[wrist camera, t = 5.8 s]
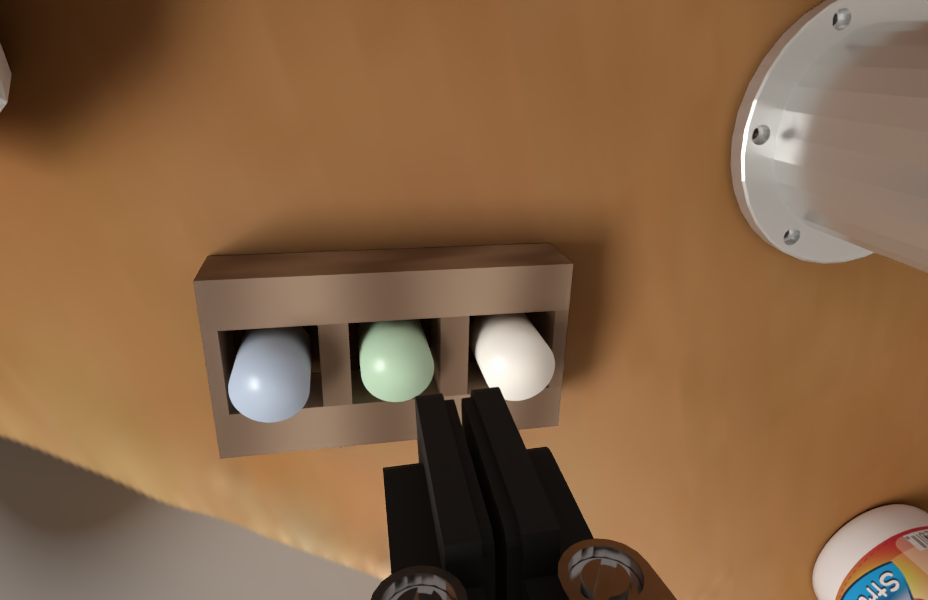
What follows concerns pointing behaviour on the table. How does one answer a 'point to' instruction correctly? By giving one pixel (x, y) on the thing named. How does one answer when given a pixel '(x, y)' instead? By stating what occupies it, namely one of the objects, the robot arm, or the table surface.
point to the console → (369, 300)
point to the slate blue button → (271, 373)
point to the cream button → (511, 354)
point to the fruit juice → (876, 557)
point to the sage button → (394, 359)
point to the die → (4, 79)
